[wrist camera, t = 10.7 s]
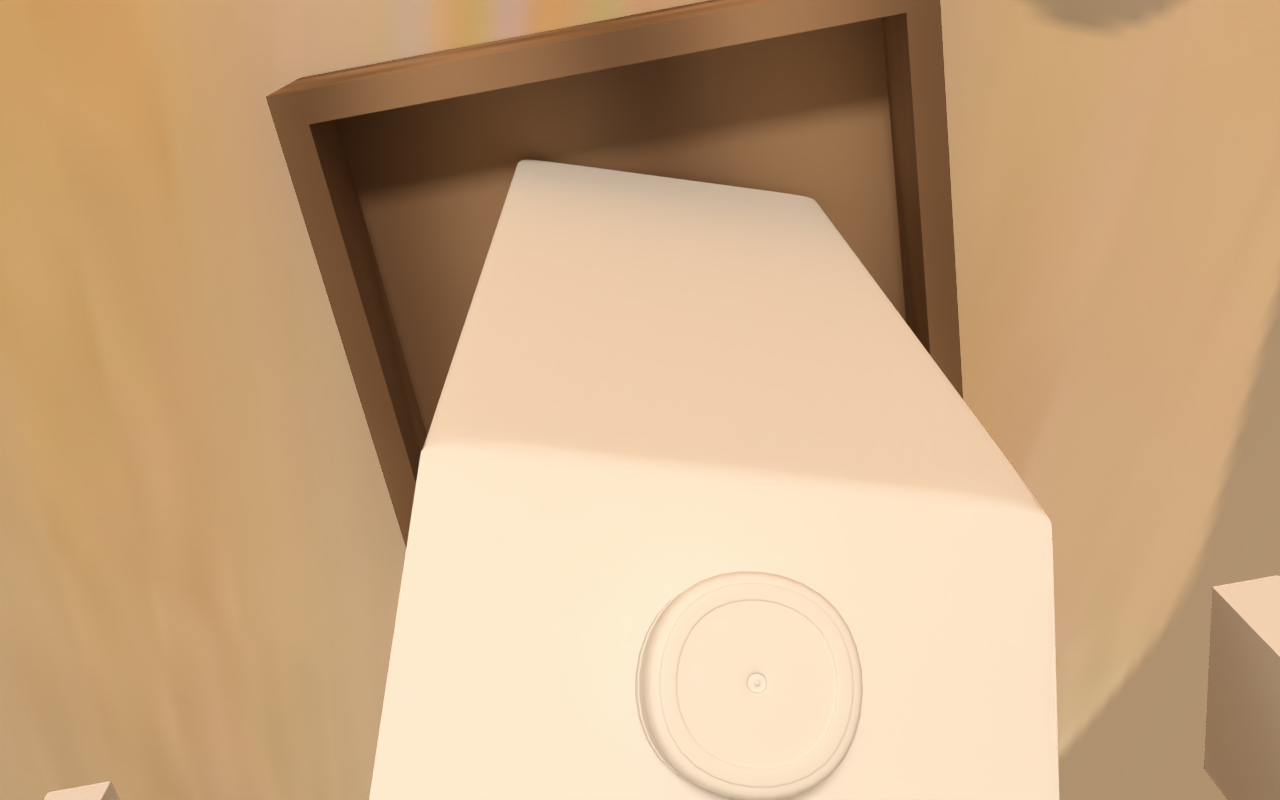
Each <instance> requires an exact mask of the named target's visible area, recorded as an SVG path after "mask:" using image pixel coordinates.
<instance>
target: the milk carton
mask: <svg viewBox="0 0 1280 800" xmlns="http://www.w3.org/2000/svg"><path fill="white" fill-rule="evenodd" d="M369 800H1059V774H1058V735H1057V696H1056V657H1055V618H1054V578H1053V546H1052V526H1051V520H1049V518H1048V516H1047V515H1046V514H1045V512H1044V511H1043V509H1042V507H1041V506H1040V504H1039V503H1038V501H1037V500H1036V498H1035V497H1034V495H1033V494H1032V493H1031V491H1030V490H1029V488H1028V487H1027V486H1026V484H1025V483H1024V481H1023V480H1022V479H1021V477H1020V476H1019V475H1018V473H1017V472H1016V471H1015V469H1014V468H1013V466H1012V465H1011V464H1010V462H1009V461H1008V460H1007V458H1006V457H1005V456H1004V454H1003V453H1002V452H1001V450H1000V449H999V447H998V446H997V445H996V443H995V442H994V441H993V439H992V438H991V437H990V435H989V434H988V433H987V431H986V430H985V429H984V427H983V426H982V425H981V423H980V422H979V421H978V419H977V418H976V416H975V415H974V414H973V412H972V411H971V410H970V408H969V407H968V406H967V404H966V403H965V402H964V400H963V399H962V398H961V396H960V395H959V394H958V392H957V391H956V389H955V388H954V387H953V385H952V384H951V383H950V381H949V380H948V379H947V377H946V376H945V375H944V373H943V372H942V371H941V369H940V368H939V367H938V365H937V364H936V362H935V361H934V360H933V358H932V357H931V356H930V354H929V353H928V352H927V350H926V349H925V348H924V346H923V345H922V344H921V342H920V341H919V340H918V338H917V337H916V336H915V334H914V333H913V331H912V330H911V329H910V327H909V326H908V325H907V323H906V322H905V321H904V319H903V318H902V317H901V315H900V314H899V313H898V311H897V310H896V309H895V307H894V306H893V304H892V303H891V302H890V300H889V299H888V298H887V296H886V295H885V294H884V292H883V291H882V290H881V288H880V287H879V286H878V284H877V283H876V282H875V280H874V279H873V278H872V276H871V275H870V273H869V272H868V271H867V269H866V268H865V267H864V265H863V264H862V263H861V261H860V260H859V259H858V257H857V256H856V255H855V253H854V252H853V251H852V249H851V248H850V246H849V245H848V244H847V242H846V241H845V240H844V238H843V237H842V236H841V234H840V233H839V232H838V230H837V229H836V228H835V226H834V225H833V224H832V222H831V221H830V220H829V218H828V217H827V215H826V214H825V213H824V211H823V210H822V209H821V207H820V206H819V205H818V203H817V202H816V201H815V200H814V199H812V198H809V197H805V196H800V195H794V194H787V193H780V192H773V191H765V190H758V189H750V188H743V187H736V186H728V185H721V184H713V183H706V182H698V181H691V180H683V179H676V178H668V177H661V176H653V175H646V174H639V173H631V172H624V171H616V170H609V169H601V168H594V167H586V166H579V165H571V164H564V163H556V162H548V161H540V160H521V161H520V162H519V163H518V164H517V167H516V170H515V173H514V176H513V179H512V182H511V185H510V188H509V191H508V194H507V197H506V200H505V203H504V206H503V209H502V212H501V215H500V218H499V221H498V224H497V227H496V230H495V233H494V236H493V239H492V242H491V245H490V248H489V251H488V254H487V257H486V260H485V263H484V266H483V269H482V272H481V275H480V278H479V281H478V284H477V287H476V290H475V293H474V296H473V299H472V302H471V305H470V308H469V311H468V314H467V317H466V320H465V324H464V327H463V330H462V333H461V336H460V339H459V342H458V345H457V348H456V351H455V354H454V357H453V360H452V363H451V366H450V369H449V372H448V375H447V378H446V381H445V384H444V387H443V390H442V393H441V396H440V399H439V402H438V405H437V408H436V411H435V414H434V417H433V420H432V423H431V426H430V429H429V432H428V435H427V438H426V441H425V444H424V447H423V450H422V451H421V455H420V461H419V467H418V474H417V481H416V487H415V494H414V501H413V507H412V514H411V521H410V528H409V534H408V541H407V548H406V555H405V561H404V568H403V575H402V582H401V588H400V595H399V602H398V609H397V615H396V622H395V629H394V636H393V642H392V649H391V656H390V662H389V669H388V676H387V683H386V689H385V696H384V703H383V710H382V716H381V723H380V730H379V737H378V743H377V750H376V757H375V764H374V770H373V777H372V784H371V791H370V797H369Z"/></svg>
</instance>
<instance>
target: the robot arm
mask: <svg viewBox="0 0 1280 800" xmlns="http://www.w3.org/2000/svg"><path fill="white" fill-rule="evenodd" d="M1209 653H1210V654H1209V673H1208V695H1207V717H1206V739H1205V740H1206V741H1205V760H1204V769H1205V770H1206V772H1207V773H1208V774H1209V776H1210V777H1211V778H1212V780H1213V781H1214V782H1215V784H1216V785H1217V786H1218V788H1219V789H1220V790H1221V792H1222V793H1223V794H1224V796H1225V797H1226V799H1227V800H1280V576H1279V575H1277V576H1271V577H1266V578H1261V579H1254V580H1249V581H1243V582H1237V583H1232V584H1226V585H1220V586H1214V587H1213V588H1212V608H1211V632H1210V652H1209ZM44 800H120V799H119V797H118V795H117V793H116V790H115V788H114V786H113V784H112V782H111V781H109V782H103V783H98V784H92V785H86V786H81V787H75V788H69V789H64V790H58V791H52V792H48V794H47V795H46V797H45V798H44Z"/></svg>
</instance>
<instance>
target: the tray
mask: <svg viewBox="0 0 1280 800" xmlns="http://www.w3.org/2000/svg"><path fill="white" fill-rule="evenodd" d="M266 99H267V102H268V105H269V108H270V111H271V115H272V118H273V121H274V124H275V128H276V131H277V134H278V137H279V140H280V144H281V147H282V150H283V153H284V156H285V160H286V163H287V166H288V169H289V173H290V176H291V179H292V182H293V185H294V189H295V192H296V195H297V198H298V201H299V205H300V208H301V211H302V214H303V218H304V221H305V224H306V227H307V230H308V234H309V237H310V240H311V243H312V247H313V250H314V253H315V256H316V259H317V263H318V266H319V269H320V272H321V275H322V279H323V282H324V285H325V288H326V292H327V295H328V298H329V301H330V304H331V308H332V311H333V314H334V317H335V320H336V324H337V327H338V330H339V333H340V337H341V340H342V343H343V346H344V349H345V353H346V356H347V359H348V362H349V365H350V369H351V372H352V375H353V378H354V382H355V385H356V388H357V391H358V394H359V398H360V401H361V404H362V407H363V410H364V414H365V417H366V420H367V423H368V427H369V430H370V433H371V436H372V439H373V443H374V446H375V449H376V452H377V455H378V459H379V462H380V465H381V468H382V472H383V475H384V478H385V481H386V484H387V488H388V491H389V494H390V497H391V500H392V504H393V507H394V510H395V513H396V517H397V520H398V523H399V526H400V529H401V533H402V536H403V539H404V542H405V545H406V548H407V541H408V534H409V528H410V521H411V514H412V507H413V501H414V494H415V487H416V481H417V474H418V467H419V461H420V455H421V451H422V450H423V447H424V444H425V441H426V438H427V435H428V432H429V429H430V426H431V423H432V420H433V417H434V414H435V411H436V408H437V405H438V402H439V399H440V396H441V393H442V390H443V387H444V384H445V381H446V378H447V375H448V372H449V369H450V366H451V363H452V360H453V357H454V354H455V351H456V348H457V345H458V342H459V339H460V336H461V333H462V330H463V327H464V324H465V320H466V317H467V314H468V311H469V308H470V305H471V302H472V299H473V296H474V293H475V290H476V287H477V284H478V281H479V278H480V275H481V272H482V269H483V266H484V263H485V260H486V257H487V254H488V251H489V248H490V245H491V242H492V239H493V236H494V233H495V230H496V227H497V224H498V221H499V218H500V215H501V212H502V209H503V206H504V203H505V200H506V197H507V194H508V191H509V188H510V185H511V182H512V179H513V176H514V173H515V170H516V167H517V164H518V163H519V162H520V161H521V160H540V161H548V162H556V163H564V164H571V165H579V166H586V167H594V168H601V169H609V170H616V171H624V172H631V173H639V174H646V175H653V176H661V177H668V178H676V179H683V180H691V181H698V182H706V183H713V184H721V185H728V186H736V187H743V188H750V189H758V190H765V191H773V192H780V193H787V194H794V195H800V196H805V197H809V198H812V199H814V200H815V201H816V202H817V203H818V205H819V206H820V207H821V209H822V210H823V211H824V213H825V214H826V215H827V217H828V218H829V220H830V221H831V222H832V224H833V225H834V226H835V228H836V229H837V230H838V232H839V233H840V234H841V236H842V237H843V238H844V240H845V241H846V242H847V244H848V245H849V246H850V248H851V249H852V251H853V252H854V253H855V255H856V256H857V257H858V259H859V260H860V261H861V263H862V264H863V265H864V267H865V268H866V269H867V271H868V272H869V273H870V275H871V276H872V278H873V279H874V280H875V282H876V283H877V284H878V286H879V287H880V288H881V290H882V291H883V292H884V294H885V295H886V296H887V298H888V299H889V300H890V302H891V303H892V304H893V306H894V307H895V309H896V310H897V311H898V313H899V314H900V315H901V317H902V318H903V319H904V321H905V322H906V323H907V325H908V326H909V327H910V329H911V330H912V331H913V333H914V334H915V336H916V337H917V338H918V340H919V341H920V342H921V344H922V345H923V346H924V348H925V349H926V350H927V352H928V353H929V354H930V356H931V357H932V358H933V360H934V361H935V362H936V364H937V365H938V367H939V368H940V369H941V371H942V372H943V373H944V375H945V376H946V377H947V379H948V380H949V381H950V383H951V384H952V385H953V387H954V388H955V389H956V391H957V392H958V394H959V395H960V396H961V398H962V399H963V392H962V374H961V357H960V339H959V322H958V304H957V287H956V269H955V252H954V234H953V217H952V199H951V182H950V165H949V147H948V130H947V112H946V95H945V77H944V60H943V42H942V25H941V7H940V0H710V1H705V2H699V3H694V4H689V5H684V6H678V7H673V8H668V9H662V10H657V11H652V12H647V13H641V14H636V15H631V16H625V17H620V18H615V19H610V20H604V21H599V22H594V23H588V24H583V25H578V26H572V27H567V28H562V29H557V30H551V31H546V32H541V33H535V34H530V35H525V36H520V37H514V38H509V39H504V40H498V41H493V42H488V43H483V44H477V45H472V46H467V47H461V48H456V49H451V50H445V51H440V52H435V53H430V54H424V55H419V56H414V57H408V58H403V59H398V60H393V61H387V62H382V63H377V64H371V65H366V66H361V67H356V68H350V69H345V70H340V71H334V72H329V73H324V74H318V75H313V76H308V77H303V78H299V79H297V80H296V81H294V82H292V83H290V84H288V85H286V86H285V87H283V88H281V89H279V90H277V91H276V92H274V93H272V94H270V95H268V96H267V97H266Z"/></svg>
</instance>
